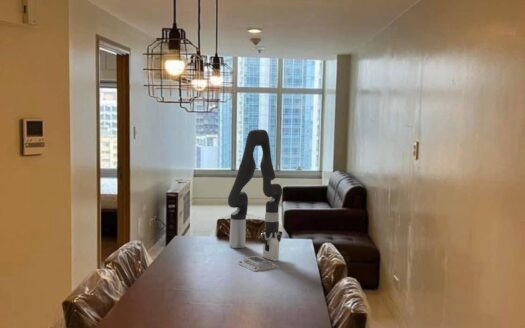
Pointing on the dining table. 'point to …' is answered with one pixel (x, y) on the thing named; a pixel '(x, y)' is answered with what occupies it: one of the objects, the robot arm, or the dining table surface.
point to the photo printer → (272, 250)
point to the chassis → (257, 263)
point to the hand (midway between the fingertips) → (270, 250)
